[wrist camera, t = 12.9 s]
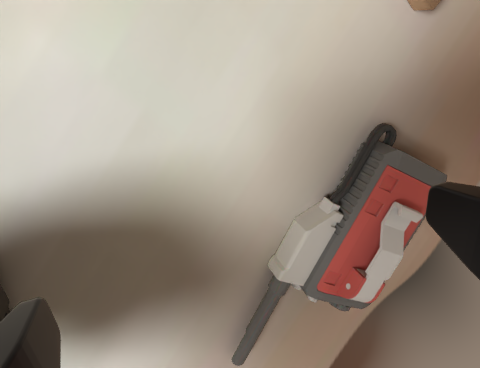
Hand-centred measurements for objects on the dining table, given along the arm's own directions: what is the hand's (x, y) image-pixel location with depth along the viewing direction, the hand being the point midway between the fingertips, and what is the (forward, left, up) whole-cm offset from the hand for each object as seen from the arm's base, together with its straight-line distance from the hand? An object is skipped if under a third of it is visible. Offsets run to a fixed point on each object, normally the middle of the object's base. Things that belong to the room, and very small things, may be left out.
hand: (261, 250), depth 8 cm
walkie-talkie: (+9, -12, -14) cm, 21 cm away
